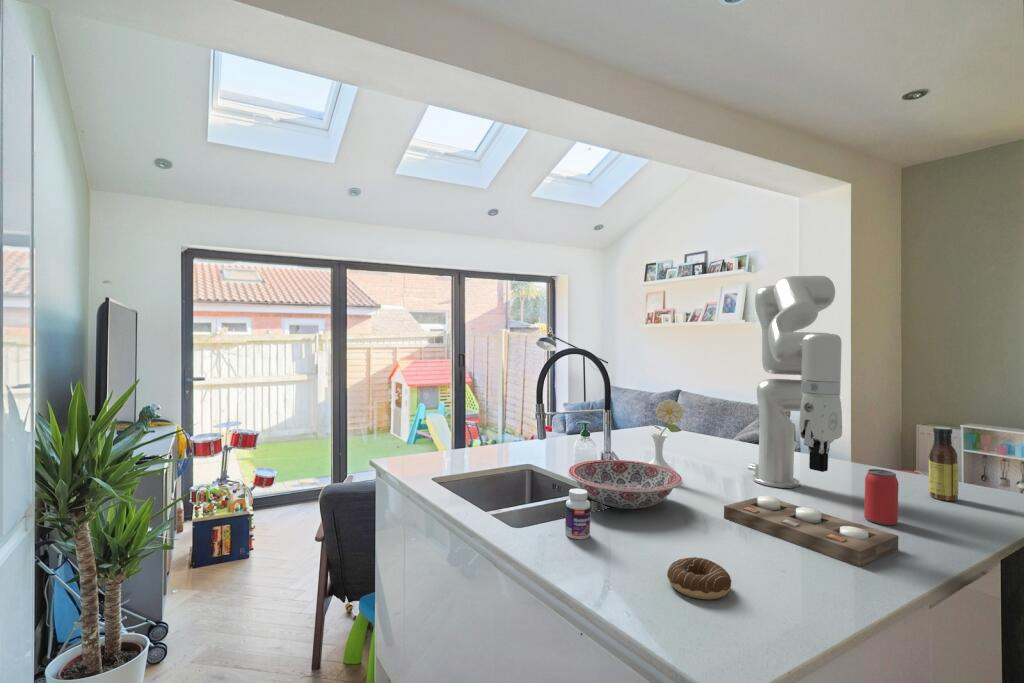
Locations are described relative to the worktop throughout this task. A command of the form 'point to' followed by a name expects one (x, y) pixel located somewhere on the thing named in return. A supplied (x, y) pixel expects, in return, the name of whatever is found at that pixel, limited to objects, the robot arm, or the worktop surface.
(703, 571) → the donut
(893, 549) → the button board
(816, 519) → the middle button
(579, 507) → the pill bottle
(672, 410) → the flower in vase
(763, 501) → the left button
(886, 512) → the beer can
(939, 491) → the sauce bottle
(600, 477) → the ceramic bowl
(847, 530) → the right button
